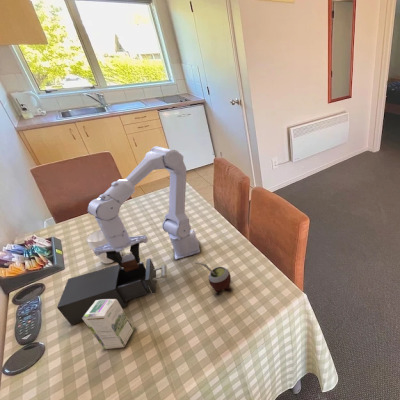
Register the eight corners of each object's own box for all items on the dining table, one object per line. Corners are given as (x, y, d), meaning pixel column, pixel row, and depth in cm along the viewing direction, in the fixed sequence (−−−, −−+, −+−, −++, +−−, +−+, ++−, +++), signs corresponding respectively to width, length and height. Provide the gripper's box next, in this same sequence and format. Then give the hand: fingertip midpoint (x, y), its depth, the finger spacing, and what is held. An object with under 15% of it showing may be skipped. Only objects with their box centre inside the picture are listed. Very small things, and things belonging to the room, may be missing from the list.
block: (139, 260, 96) (135, 252, 94) (138, 267, 93) (134, 259, 91) (126, 264, 94) (122, 256, 92) (125, 271, 91) (120, 263, 89)
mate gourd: (236, 283, 96) (228, 252, 89) (223, 300, 90) (213, 268, 82) (219, 278, 98) (210, 247, 91) (205, 294, 92) (194, 263, 84)
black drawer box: (129, 280, 98) (119, 263, 94) (125, 306, 89) (115, 288, 84) (80, 296, 93) (68, 278, 88) (71, 325, 83) (56, 307, 78)
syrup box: (115, 331, 81) (94, 299, 74) (135, 329, 81) (116, 297, 74) (104, 349, 76) (79, 317, 69) (125, 347, 76) (103, 315, 69)
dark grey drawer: (168, 267, 103) (163, 254, 99) (169, 288, 94) (163, 274, 90) (114, 284, 96) (106, 271, 92) (109, 308, 87) (100, 294, 83)
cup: (112, 267, 104) (98, 243, 98) (93, 264, 106) (78, 240, 100) (130, 252, 112) (119, 229, 106) (112, 249, 114) (100, 226, 107)
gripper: (84, 246, 80) (104, 278, 87) (140, 232, 85) (154, 263, 92) (89, 233, 85) (107, 264, 92) (141, 221, 91) (154, 251, 98)
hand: (131, 263), depth 93 cm, fingers closed on block, 4 cm apart
